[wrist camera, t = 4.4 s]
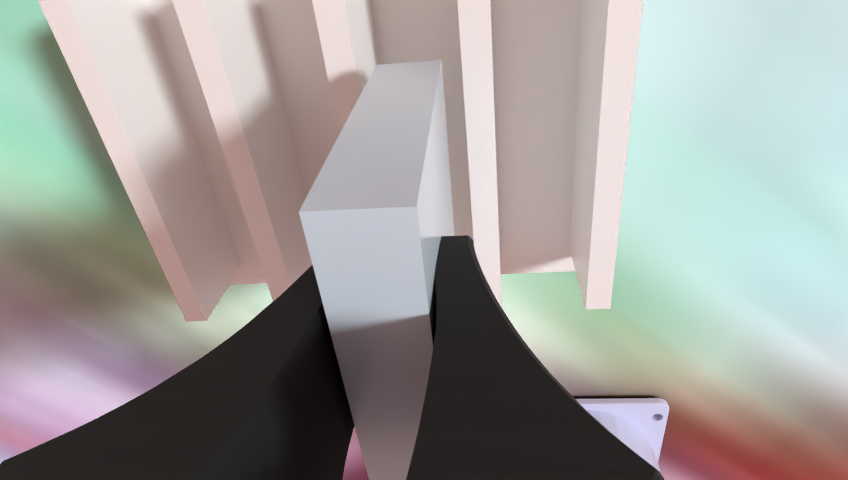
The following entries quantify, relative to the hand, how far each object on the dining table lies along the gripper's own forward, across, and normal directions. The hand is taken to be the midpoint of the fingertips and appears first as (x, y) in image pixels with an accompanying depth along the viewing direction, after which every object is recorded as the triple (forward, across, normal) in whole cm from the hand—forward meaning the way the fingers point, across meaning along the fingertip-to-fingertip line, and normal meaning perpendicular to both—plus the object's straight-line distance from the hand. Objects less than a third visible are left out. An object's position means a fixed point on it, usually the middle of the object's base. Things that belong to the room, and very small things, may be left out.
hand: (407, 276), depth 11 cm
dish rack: (+9, +2, 0) cm, 10 cm away
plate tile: (+4, 0, 0) cm, 4 cm away
